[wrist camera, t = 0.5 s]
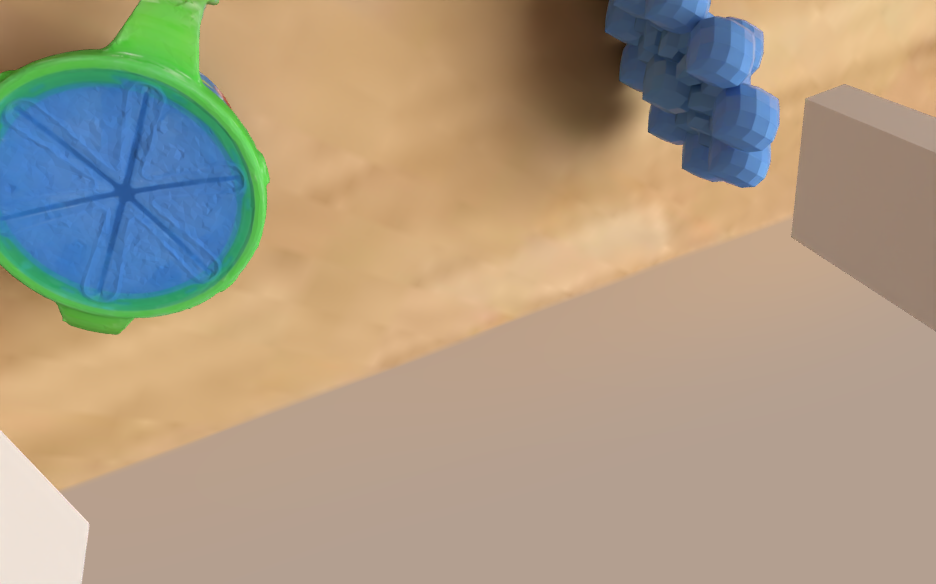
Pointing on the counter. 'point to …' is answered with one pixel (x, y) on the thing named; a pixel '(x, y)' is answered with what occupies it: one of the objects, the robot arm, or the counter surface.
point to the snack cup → (127, 175)
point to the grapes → (699, 85)
